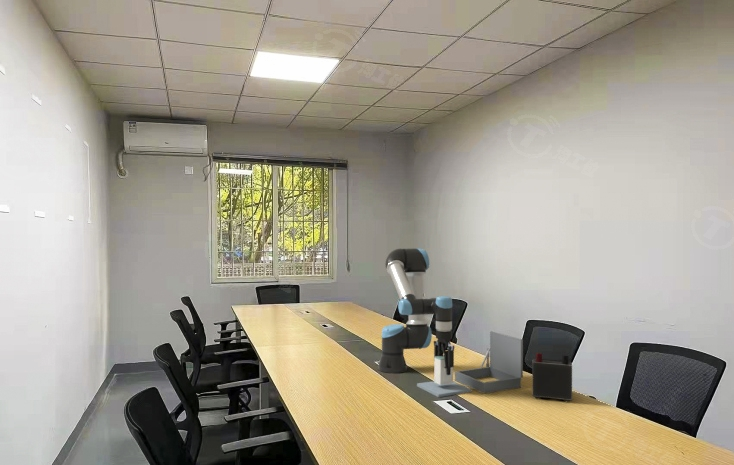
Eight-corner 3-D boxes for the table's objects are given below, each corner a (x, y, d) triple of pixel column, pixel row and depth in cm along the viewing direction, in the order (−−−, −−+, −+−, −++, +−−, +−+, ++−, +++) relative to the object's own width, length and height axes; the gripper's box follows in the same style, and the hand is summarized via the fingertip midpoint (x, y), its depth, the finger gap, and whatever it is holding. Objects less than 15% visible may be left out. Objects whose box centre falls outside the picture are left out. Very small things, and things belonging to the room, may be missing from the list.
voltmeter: (569, 392, 227) (569, 348, 227) (572, 403, 212) (572, 356, 212) (532, 388, 232) (532, 345, 233) (532, 399, 217) (532, 353, 217)
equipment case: (453, 379, 245) (453, 334, 245) (490, 374, 255) (490, 330, 255) (483, 393, 224) (484, 343, 224) (522, 386, 234) (522, 339, 234)
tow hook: (478, 369, 267) (479, 373, 258) (478, 345, 267) (479, 348, 258) (494, 370, 265) (496, 374, 256) (494, 346, 266) (496, 349, 257)
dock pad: (416, 386, 234) (416, 383, 234) (448, 381, 242) (448, 379, 242) (438, 397, 218) (438, 394, 218) (471, 391, 226) (471, 389, 226)
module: (434, 382, 231) (434, 356, 231) (446, 380, 234) (446, 355, 234) (440, 385, 226) (440, 358, 226) (452, 383, 229) (453, 357, 229)
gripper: (462, 332, 224) (462, 384, 223) (439, 326, 240) (439, 374, 240) (448, 333, 221) (448, 386, 220) (426, 327, 237) (426, 376, 236)
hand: (443, 379), depth 230 cm, fingers closed on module, 5 cm apart
